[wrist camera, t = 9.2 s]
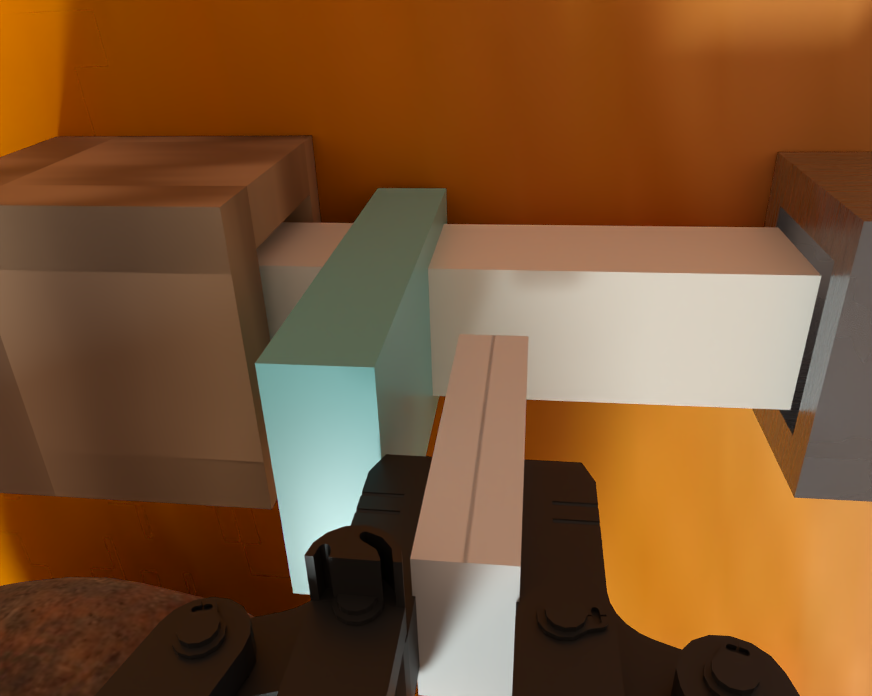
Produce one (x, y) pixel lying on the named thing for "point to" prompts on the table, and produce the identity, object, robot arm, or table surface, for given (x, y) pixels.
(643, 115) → the table surface
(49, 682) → the jug
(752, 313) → the bolt
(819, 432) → the sleeve
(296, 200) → the socket
